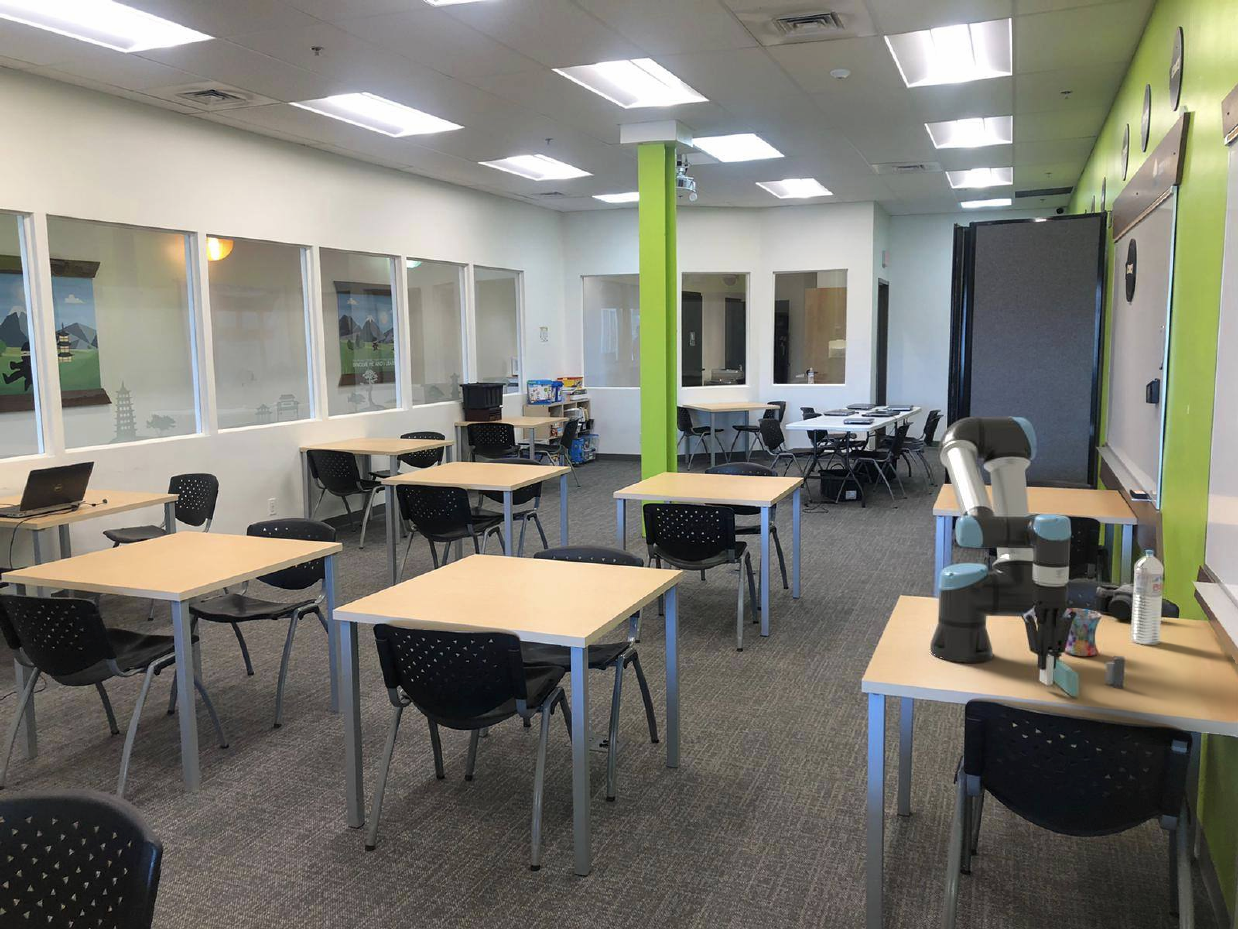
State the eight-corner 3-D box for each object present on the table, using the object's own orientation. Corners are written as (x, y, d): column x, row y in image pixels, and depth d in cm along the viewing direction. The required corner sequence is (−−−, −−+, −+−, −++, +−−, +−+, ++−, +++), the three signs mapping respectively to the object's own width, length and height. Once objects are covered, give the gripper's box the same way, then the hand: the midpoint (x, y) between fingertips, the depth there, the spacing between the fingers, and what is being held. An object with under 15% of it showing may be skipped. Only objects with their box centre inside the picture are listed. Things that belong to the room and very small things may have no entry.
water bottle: (1149, 637, 253) (1154, 547, 250) (1165, 645, 246) (1170, 553, 243) (1125, 638, 253) (1129, 548, 250) (1139, 646, 246) (1144, 553, 243)
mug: (1090, 661, 235) (1092, 620, 234) (1053, 652, 242) (1055, 612, 241) (1110, 651, 242) (1112, 611, 241) (1074, 643, 250) (1076, 604, 248)
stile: (1106, 686, 217) (1108, 657, 216) (1105, 682, 220) (1107, 653, 219) (1123, 688, 216) (1124, 659, 215) (1121, 684, 218) (1123, 655, 218)
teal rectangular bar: (1042, 674, 224) (1043, 654, 223) (1055, 674, 224) (1056, 654, 223) (1067, 696, 210) (1068, 674, 209) (1081, 696, 210) (1082, 674, 209)
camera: (1088, 617, 273) (1089, 584, 272) (1097, 610, 281) (1099, 577, 280) (1148, 627, 263) (1150, 593, 262) (1156, 619, 270) (1158, 586, 269)
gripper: (1035, 588, 207) (1031, 690, 210) (1086, 584, 210) (1082, 685, 212) (1014, 580, 214) (1010, 679, 217) (1064, 577, 217) (1060, 675, 219)
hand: (1046, 682), depth 215 cm, fingers closed
